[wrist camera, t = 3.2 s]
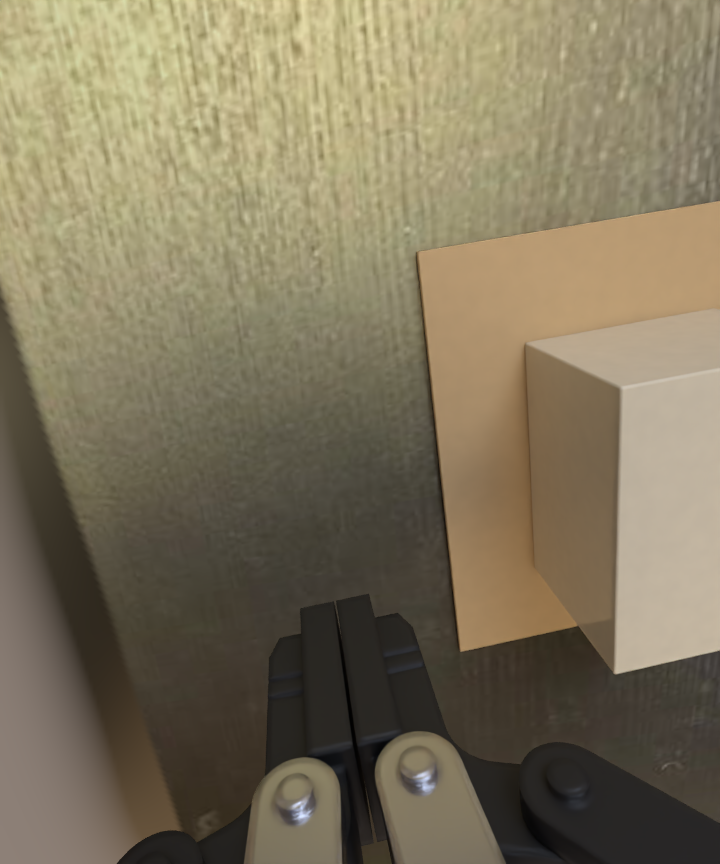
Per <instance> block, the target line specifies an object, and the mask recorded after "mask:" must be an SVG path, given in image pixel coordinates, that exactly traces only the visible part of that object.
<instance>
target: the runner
mask: <svg viewBox="0 0 720 864" xmlns="http://www.w3.org/2000/svg"><path fill="white" fill-rule="evenodd" d="M416 254H417V263H418V272H419V282H420V291H421V300H422V309H423V319H424V328H425V337H426V346H427V356H428V365H429V374H430V383H431V393H432V402H433V411H434V421H435V430H436V439H437V448H438V458H439V467H440V476H441V485H442V495H443V504H444V513H445V522H446V532H447V541H448V550H449V559H450V569H451V578H452V587H453V596H454V606H455V615H456V624H457V633H458V643H459V649H460V651H461V652H463V651H467V650H472V649H476V648H481V647H485V646H490V645H494V644H499V643H503V642H508V641H512V640H517V639H521V638H526V637H530V636H535V635H539V634H544V633H548V632H553V631H557V630H562V629H566V628H571V627H575V626H578V625H577V624H576V622H575V621H574V620H573V618H572V617H571V616H570V614H569V613H568V612H567V610H566V609H565V607H564V606H563V605H562V603H561V602H560V601H559V599H558V598H557V597H556V595H555V594H554V593H553V591H552V590H551V589H550V587H549V586H548V585H547V583H546V582H545V581H544V579H543V578H542V577H541V575H540V574H539V573H538V571H537V570H536V569H535V565H534V542H533V518H532V494H531V470H530V447H529V423H528V399H527V375H526V352H525V343H527V342H531V341H537V340H542V339H548V338H553V337H559V336H564V335H570V334H575V333H581V332H586V331H592V330H597V329H603V328H608V327H614V326H619V325H625V324H630V323H635V322H641V321H646V320H652V319H657V318H663V317H668V316H674V315H679V314H685V313H690V312H696V311H701V310H707V309H712V308H715V309H720V201H716V202H710V203H704V204H698V205H692V206H686V207H680V208H674V209H668V210H662V211H656V212H650V213H644V214H638V215H632V216H626V217H620V218H615V219H609V220H603V221H597V222H591V223H585V224H579V225H573V226H567V227H561V228H555V229H549V230H543V231H537V232H531V233H525V234H519V235H513V236H507V237H501V238H495V239H489V240H483V241H477V242H471V243H465V244H459V245H453V246H447V247H441V248H436V249H430V250H424V251H418V252H416Z"/></svg>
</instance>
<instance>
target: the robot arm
mask: <svg viewBox="0 0 720 864" xmlns="http://www.w3.org/2000/svg"><path fill="white" fill-rule="evenodd" d="M336 602H337V610H338V616H339V623H340V629H339V624H338V619H337V614H336V609H335V605H334V601H333V602H328V603H324V604H319V605H314V606H309V607H304V608H301V609H300V615H301V634H297V635H292V636H288V637H283V638H280V639H279V640H278V642H277V644H276V646H275V648H274V650H273V652H272V654H271V656H270V658H269V684H268V710H267V741H266V769H265V777H264V779H263V780H262V781H261V783H260V784H259V786H258V788H257V789H256V792H255V794H254V797H253V801H252V803H251V805H250V806H249V807H248V808H247V809H246V810H245V811H244V812H243V814H241V815H240V816H239V817H238V818H237V819H235V820H234V821H233V822H231V823H230V824H228V825H227V826H225V827H223V828H221V829H220V830H218V831H216V832H214V833H213V834H211V835H209V836H208V837H206V838H204V839H202V840H201V841H199V842H197V843H196V841H195V840H194V839H193V838H192V837H191V836H190V835H188V834H186V833H184V832H180V831H163V832H159V833H156V834H154V835H151V836H149V837H147V838H145V839H144V840H142V841H141V842H139V843H137V844H136V845H135V846H134V847H132V848H131V849H130V850H129V851H128V852H127V853H126V854H125V855H124V856H123V857H122V858H121V859H120V860H119V862H118V863H117V864H363V857H362V849H361V846H364V845H368V844H373V843H374V842H373V836H372V829H371V822H370V815H369V809H368V802H367V795H366V790H367V794H368V799H369V804H370V809H371V814H372V818H373V823H374V828H375V833H376V838H377V842H379V841H384V840H387V841H388V846H389V851H390V856H391V861H392V864H720V823H718V822H716V821H714V820H713V819H711V818H709V817H707V816H705V815H704V814H702V813H700V812H698V811H696V810H695V809H693V808H691V807H689V806H687V805H686V804H684V803H682V802H680V801H678V800H677V799H675V798H673V797H671V796H669V795H668V794H666V793H664V792H662V791H660V790H659V789H657V788H655V787H653V786H651V785H650V784H648V783H646V782H644V781H642V780H641V779H639V778H637V777H635V776H633V775H632V774H630V773H628V772H626V771H624V770H623V769H621V768H619V767H617V766H615V765H614V764H612V763H610V762H608V761H606V760H605V759H603V758H601V757H599V756H597V755H596V754H594V753H592V752H590V751H588V750H586V749H584V748H582V747H580V746H577V745H574V744H569V743H563V742H554V743H547V744H544V745H540V746H538V747H536V748H534V749H533V750H532V751H531V752H529V753H528V754H527V756H526V757H525V758H524V760H523V762H522V763H521V764H511V763H500V762H491V761H486V760H482V759H479V758H476V757H474V756H472V755H470V754H468V753H467V752H465V751H464V750H462V749H461V748H460V747H459V746H458V745H457V744H456V743H455V742H454V741H453V740H452V739H451V737H450V735H449V734H448V732H447V730H446V727H445V724H444V721H443V718H442V715H441V712H440V709H439V706H438V703H437V700H436V697H435V694H434V691H433V688H432V685H431V682H430V679H429V676H428V673H427V669H426V666H425V664H424V660H423V657H422V654H421V651H420V649H419V645H418V642H417V639H416V636H415V633H414V630H413V627H412V626H411V625H410V624H409V623H408V622H407V621H406V620H405V619H404V618H402V617H401V616H400V615H399V614H398V613H395V614H390V615H386V616H381V617H376V618H375V617H374V613H373V609H372V605H371V601H370V596H369V594H366V595H361V596H356V597H351V598H347V599H342V600H337V601H336ZM340 630H341V634H340ZM341 637H342V639H341ZM364 780H365V782H364ZM365 785H366V788H365Z"/></svg>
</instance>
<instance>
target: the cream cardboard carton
mask: <svg viewBox="0 0 720 864" xmlns="http://www.w3.org/2000/svg"><path fill="white" fill-rule="evenodd" d="M525 352H526V375H527V399H528V423H529V447H530V470H531V494H532V518H533V542H534V565H535V569H536V570H537V571H538V573H539V574H540V575H541V577H542V578H543V579H544V581H545V582H546V583H547V585H548V586H549V587H550V589H551V590H552V591H553V593H554V594H555V595H556V597H557V598H558V599H559V601H560V602H561V603H562V605H563V606H564V607H565V609H566V610H567V612H568V613H569V614H570V616H571V617H572V618H573V620H574V621H575V622H576V624H577V625H578V626H579V628H580V629H581V630H582V632H583V633H584V634H585V636H586V637H587V638H588V640H589V641H590V642H591V644H592V645H593V646H594V648H595V649H596V650H597V652H598V653H599V654H600V656H601V657H602V658H603V660H604V661H605V662H606V664H607V665H608V666H609V668H610V669H611V670H612V672H613V673H614V674H620V673H625V672H629V671H633V670H638V669H642V668H646V667H651V666H655V665H659V664H664V663H668V662H673V661H677V660H681V659H686V658H690V657H694V656H699V655H703V654H707V653H712V652H716V651H720V309H715V308H712V309H707V310H701V311H696V312H690V313H685V314H679V315H674V316H668V317H663V318H657V319H652V320H646V321H641V322H635V323H630V324H625V325H619V326H614V327H608V328H603V329H597V330H592V331H586V332H581V333H575V334H570V335H564V336H559V337H553V338H548V339H542V340H537V341H531V342H527V343H525Z"/></svg>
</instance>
